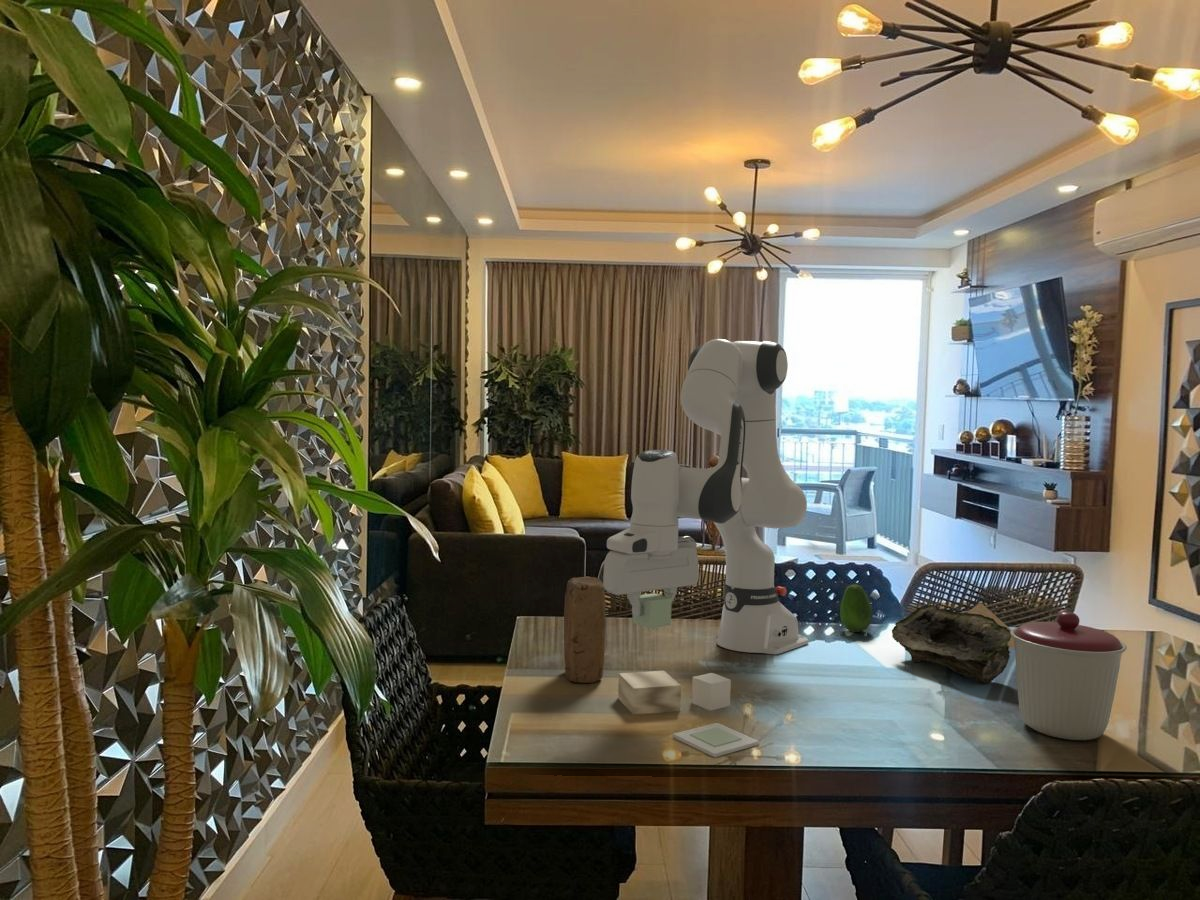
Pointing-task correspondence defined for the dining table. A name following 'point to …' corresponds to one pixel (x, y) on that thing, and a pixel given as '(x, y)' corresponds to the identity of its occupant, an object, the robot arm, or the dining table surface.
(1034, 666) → the canister
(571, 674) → the block
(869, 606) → the avocado
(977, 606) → the model pyramid
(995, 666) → the hollow geode rock
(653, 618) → the sage cube
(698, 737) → the card
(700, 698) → the offwhite cube
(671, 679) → the base block
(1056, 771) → the dining table surface
